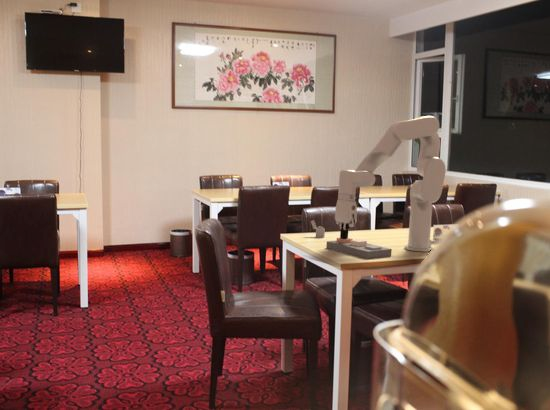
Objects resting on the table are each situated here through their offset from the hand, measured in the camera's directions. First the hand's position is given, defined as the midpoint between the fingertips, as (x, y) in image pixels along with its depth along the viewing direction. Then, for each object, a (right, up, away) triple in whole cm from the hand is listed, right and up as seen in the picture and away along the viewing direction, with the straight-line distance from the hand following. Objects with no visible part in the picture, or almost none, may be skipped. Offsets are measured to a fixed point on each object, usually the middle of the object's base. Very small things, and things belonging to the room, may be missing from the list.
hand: (343, 238), depth 265 cm
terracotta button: (0, -3, 0) cm, 3 cm away
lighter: (-10, -1, +30) cm, 32 cm away
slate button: (+11, -6, -14) cm, 19 cm away
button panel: (+5, -6, -7) cm, 10 cm away
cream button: (+5, -4, -7) cm, 10 cm away
